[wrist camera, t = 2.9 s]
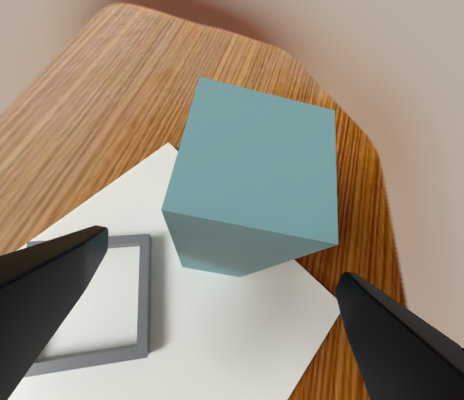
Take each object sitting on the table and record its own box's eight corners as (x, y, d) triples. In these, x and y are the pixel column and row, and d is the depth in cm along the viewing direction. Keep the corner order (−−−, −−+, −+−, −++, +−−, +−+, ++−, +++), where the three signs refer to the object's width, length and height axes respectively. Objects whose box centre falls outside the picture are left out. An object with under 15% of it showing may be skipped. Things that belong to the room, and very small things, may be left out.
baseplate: (336, 305, 19) (344, 305, 18) (135, 630, 12) (130, 659, 11) (169, 148, 22) (168, 142, 21) (-78, 328, 15) (-96, 330, 14)
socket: (150, 352, 15) (146, 357, 14) (14, 374, 14) (-1, 381, 13) (151, 237, 18) (149, 233, 17) (38, 245, 16) (27, 241, 15)
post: (240, 277, 18) (338, 244, 6) (182, 267, 17) (160, 210, 5) (247, 222, 19) (334, 110, 8) (194, 212, 19) (199, 76, 7)
